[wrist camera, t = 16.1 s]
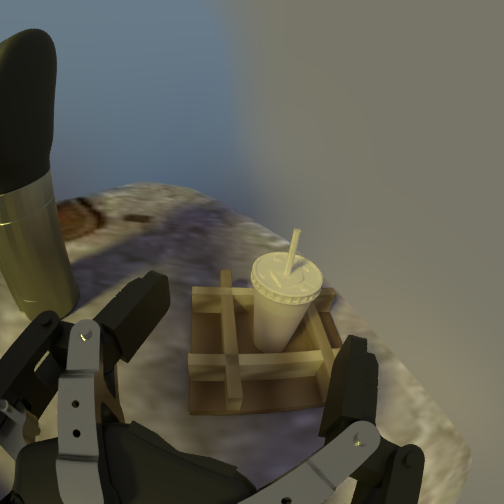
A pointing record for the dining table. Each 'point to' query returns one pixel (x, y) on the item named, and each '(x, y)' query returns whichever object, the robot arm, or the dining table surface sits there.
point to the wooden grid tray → (256, 355)
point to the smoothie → (282, 295)
